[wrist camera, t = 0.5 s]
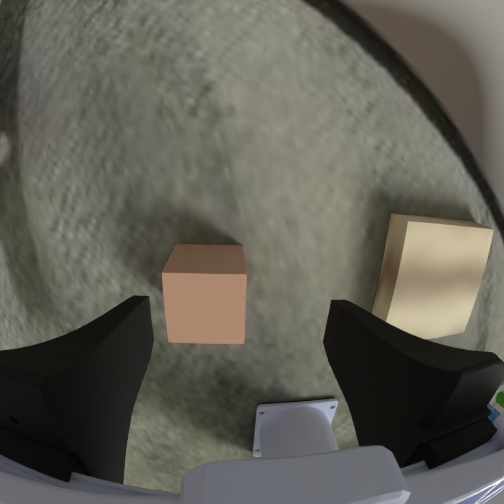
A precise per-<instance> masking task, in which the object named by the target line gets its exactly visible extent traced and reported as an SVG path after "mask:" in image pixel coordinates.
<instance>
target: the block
mask: <svg viewBox="0 0 504 504" xmlns="http://www.w3.org/2000/svg"><path fill="white" fill-rule="evenodd" d="M162 284H163V295H164V306H165V316H166V325H167V333H168V342H176V343H203V344H244V336H245V311H246V286H247V271H246V265H245V258H244V252H243V245H205V244H176V246H175V248H174V249H173V251H172V253H171V255H170V257H169V259H168V261H167V263H166V265H165V267H164V269H163V271H162Z"/></svg>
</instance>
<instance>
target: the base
mask: <svg viewBox="0 0 504 504" xmlns="http://www.w3.org/2000/svg"><path fill="white" fill-rule="evenodd" d="M493 231H494V230H493V229H491V228H489V227H487V226H484V225H482V224H479V223H477V222H472V221H464V220H455V219H446V218H437V217H427V216H417V215H407V214H396V213H390V220H389V227H388V233H387V239H386V245H385V251H384V256H383V262H382V267H381V272H380V277H379V282H378V286H377V291H376V295H375V300H374V304H373V308H372V312H371V314H373V315H375V316H376V317H378V318H380V319H382V320H384V321H385V322H387V323H389V324H391V325H393V326H395V327H397V328H399V329H401V330H403V331H405V332H408V333H410V334H412V335H415V336H417V337H420V338H422V339H425V340H426V339H432V338H437V337H443V336H448V335H453V334H458V333H463V332H464V330H465V328H466V325H467V322H468V320H469V317H470V314H471V311H472V308H473V306H474V303H475V300H476V296H477V293H478V290H479V287H480V284H481V280H482V277H483V273H484V269H485V266H486V262H487V258H488V254H489V250H490V245H491V241H492V236H493Z"/></svg>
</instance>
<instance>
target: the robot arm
mask: <svg viewBox="0 0 504 504" xmlns="http://www.w3.org/2000/svg"><path fill="white" fill-rule="evenodd" d="M153 342H154V337H153V329H152V321H151V312H150V303H149V296H135V295H134V296H132V297H130V298H128V299H127V300H125V301H124V302H122V303H121V304H119V305H117V306H116V307H114V308H113V309H111V310H110V311H108V312H107V313H105V314H104V315H102V316H100V317H98V318H97V319H95V320H93V321H92V322H90V323H88V324H86V325H85V326H83V327H81V328H79V329H77V330H74V331H72V332H70V333H68V334H66V335H63V336H60V337H58V338H55V339H52V340H49V341H46V342H43V343H40V344H36V345H32V346H27V347H23V348H17V349H11V350H2V351H0V504H483V503H485V502H486V501H488V500H489V499H491V498H492V497H493V496H495V495H496V494H498V493H499V492H500V491H501V490H503V489H504V413H503V414H501V415H500V416H498V417H497V418H496V419H494V420H493V421H492V422H491V421H490V419H489V418H488V416H490V414H491V410H490V409H489V408H488V407H487V405H488V404H489V402H490V401H491V399H492V397H493V396H494V394H495V393H496V391H497V389H498V387H499V386H500V384H501V382H502V380H503V377H504V362H503V361H502V360H501V359H500V358H499V357H498V356H497V355H496V354H494V353H493V352H483V351H472V350H465V349H459V348H454V347H450V346H445V345H442V344H438V343H435V342H431V341H428V340H425V339H422V338H420V337H417V336H415V335H412V334H410V333H408V332H405V331H403V330H401V329H399V328H397V327H395V326H393V325H391V324H389V323H387V322H385V321H384V320H382V319H380V318H378V317H376V316H375V315H373V314H371V313H370V312H368V311H366V310H364V309H363V308H361V307H359V306H357V305H356V304H354V303H352V302H350V301H347V300H331V304H330V309H329V315H328V320H327V325H326V330H325V334H324V339H323V344H324V347H325V351H326V355H327V358H328V361H329V364H330V366H331V368H332V371H333V373H334V375H335V377H336V379H337V382H338V384H339V386H340V388H341V390H342V393H343V395H344V397H345V399H346V402H347V404H348V407H349V409H350V413H351V416H352V420H353V423H354V427H355V430H356V435H357V439H358V443H359V447H353V448H348V449H342V450H339V449H338V446H337V443H336V440H335V437H334V434H333V431H332V428H331V426H330V425H331V422H332V420H333V417H334V414H335V411H336V408H337V406H338V400H337V399H336V398H333V399H324V400H315V401H304V402H292V403H277V404H260V405H258V406H257V410H256V422H255V433H254V444H253V456H255V457H262V458H258V459H231V460H223V461H212V462H207V463H205V464H202V465H200V466H198V467H195V468H193V469H190V470H188V471H186V472H185V475H184V477H183V480H182V482H181V493H179V492H169V491H161V490H153V489H147V488H140V487H134V486H129V485H124V484H123V481H124V466H125V456H126V447H127V440H128V433H129V427H130V422H131V416H132V411H133V407H134V404H135V400H136V398H137V395H138V392H139V389H140V386H141V383H142V380H143V378H144V375H145V372H146V369H147V366H148V363H149V360H150V356H151V352H152V347H153Z"/></svg>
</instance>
